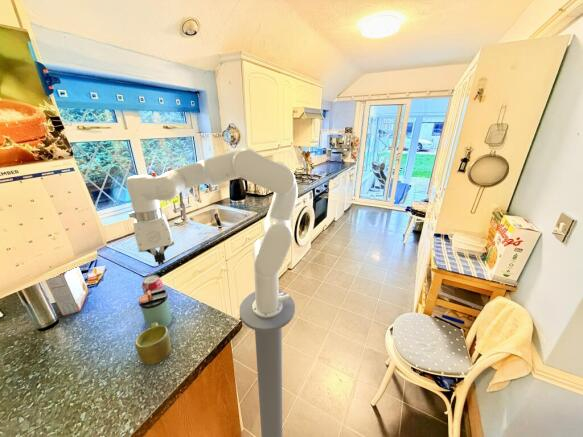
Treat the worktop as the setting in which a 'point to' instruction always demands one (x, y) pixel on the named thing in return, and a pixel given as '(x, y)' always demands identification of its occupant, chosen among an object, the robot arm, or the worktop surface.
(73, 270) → the cracker box
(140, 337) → the mug
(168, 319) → the tumbler
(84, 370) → the worktop surface
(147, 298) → the slider
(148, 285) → the soda can
